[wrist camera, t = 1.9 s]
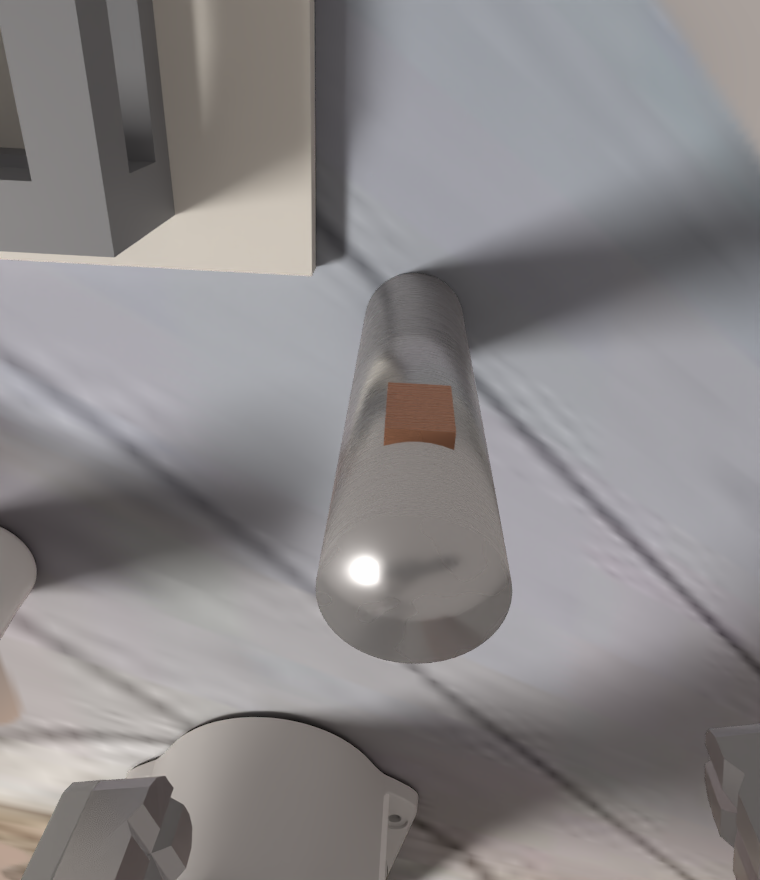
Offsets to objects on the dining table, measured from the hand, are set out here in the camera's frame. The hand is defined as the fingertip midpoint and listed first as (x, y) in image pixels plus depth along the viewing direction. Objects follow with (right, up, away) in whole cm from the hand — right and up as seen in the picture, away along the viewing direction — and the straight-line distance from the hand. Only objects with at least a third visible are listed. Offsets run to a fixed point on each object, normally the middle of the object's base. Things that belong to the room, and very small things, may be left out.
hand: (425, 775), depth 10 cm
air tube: (+1, +10, +17) cm, 20 cm away
